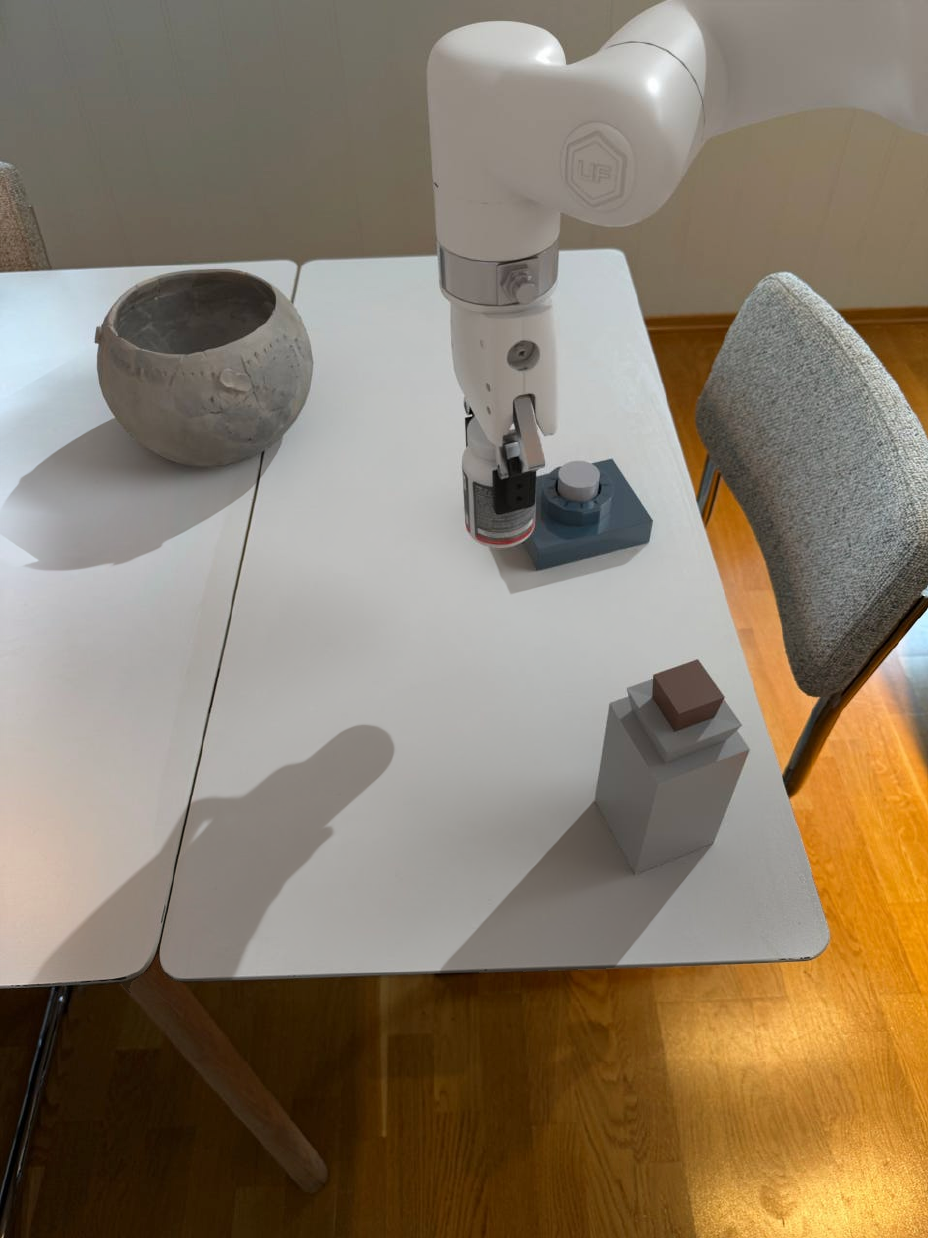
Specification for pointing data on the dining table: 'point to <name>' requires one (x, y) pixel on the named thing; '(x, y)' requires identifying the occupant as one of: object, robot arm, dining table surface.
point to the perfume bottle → (669, 765)
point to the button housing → (586, 520)
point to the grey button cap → (578, 481)
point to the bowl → (204, 365)
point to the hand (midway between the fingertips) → (499, 479)
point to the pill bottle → (489, 494)
